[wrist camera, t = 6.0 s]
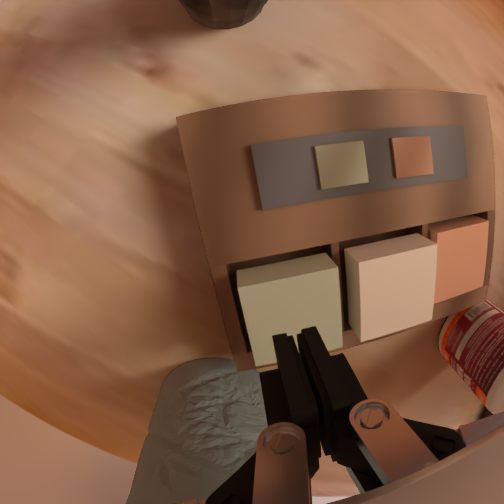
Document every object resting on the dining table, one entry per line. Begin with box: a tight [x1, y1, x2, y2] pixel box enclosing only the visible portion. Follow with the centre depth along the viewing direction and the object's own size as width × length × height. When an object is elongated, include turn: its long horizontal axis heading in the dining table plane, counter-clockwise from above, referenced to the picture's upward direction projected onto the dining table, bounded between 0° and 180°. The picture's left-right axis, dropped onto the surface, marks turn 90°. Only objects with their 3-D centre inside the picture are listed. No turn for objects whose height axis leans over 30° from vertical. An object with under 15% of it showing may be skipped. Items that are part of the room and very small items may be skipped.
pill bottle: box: [439, 299, 504, 414], centre depth 16 cm, size 6×6×11 cm
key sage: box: [237, 253, 343, 366], centre depth 15 cm, size 4×4×2 cm
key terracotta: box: [428, 214, 489, 304], centre depth 16 cm, size 4×4×2 cm
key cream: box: [344, 233, 437, 342], centre depth 15 cm, size 4×4×2 cm
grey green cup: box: [126, 358, 268, 504], centre depth 16 cm, size 10×10×12 cm
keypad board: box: [176, 90, 495, 372], centre depth 16 cm, size 18×14×3 cm
